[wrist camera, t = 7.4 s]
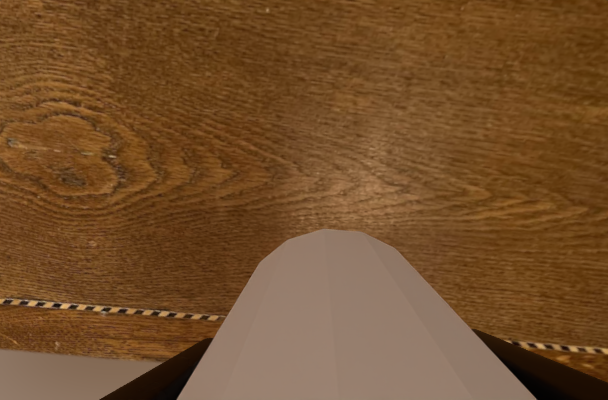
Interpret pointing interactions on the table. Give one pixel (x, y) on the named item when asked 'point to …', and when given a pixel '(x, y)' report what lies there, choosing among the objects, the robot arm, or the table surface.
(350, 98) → the table surface
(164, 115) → the table surface
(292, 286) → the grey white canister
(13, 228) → the table surface
